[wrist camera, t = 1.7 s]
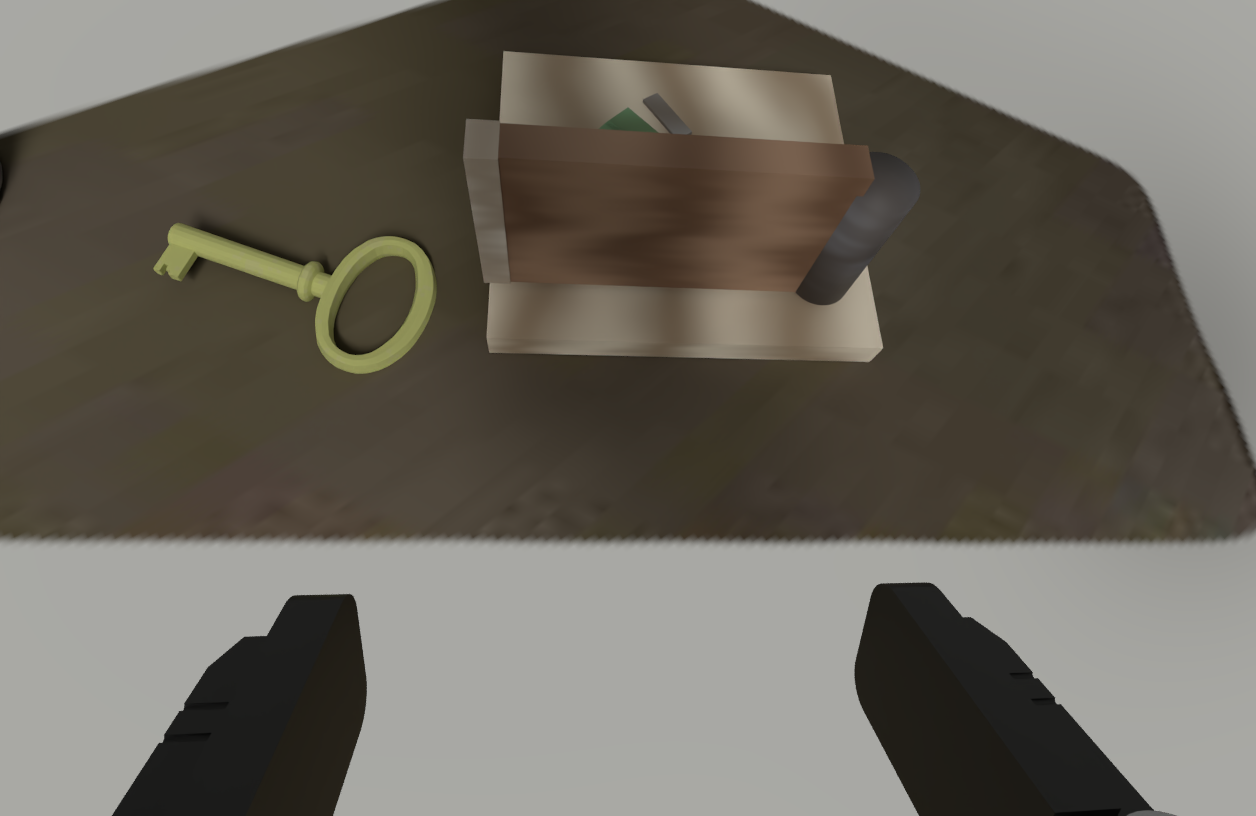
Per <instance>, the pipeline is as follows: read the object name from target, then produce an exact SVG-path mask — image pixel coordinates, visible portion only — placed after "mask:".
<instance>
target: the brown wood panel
mask: <svg viewBox="0 0 1256 816" xmlns="http://www.w3.org/2000/svg"><path fill="white" fill-rule="evenodd" d="M463 160H464V166H465V172H466V178H467V184H468V190H469V196H470V202H471V208H472V214H473V220H474V225H475V231H476V237H477V243H478V249H479V255H480V261H481V267H482V273H483V279H484V283H504V284H510V283H511V282H528V283H556V284H584V285H612V286H639V287H667V288H695V289H723V290H751V291H779V292H796V293H797V295H799V296H800V297H801V298H802V299H804V300H805V301H807V302H809V303H812V304H816V305H831V304H834V303H836V302H838V301H839V300H840V299H842V297H843V296H844V295H845V294H846V292H847V291H848V290H849V288H850V287H851V286H852V285H853V283H854V282H855V281H856V279H857V278H858V277H859V276H860V274H861V273H862V272H863V270H864V269H865V268H866V266H867V265H868V264H869V263H870V261H871V260H872V259H873V257H874V256H875V255H876V254H877V252H878V251H879V250H880V248H881V247H882V246H883V244H884V243H885V242H886V241H887V239H888V238H889V237H890V235H891V234H892V233H893V232H894V230H895V229H896V228H897V226H898V225H899V224H900V222H901V221H902V220H903V219H904V217H905V216H906V215H907V213H908V212H909V211H910V210H911V208H912V207H913V206H914V204H915V203H916V202H917V200H918V198H919V195H920V183H919V180H918V178H917V176H916V174H915V173H914V171H913V170H912V169H911V168H910V167H909V166H908V165H907V164H906V163H905V162H903V161H902V160H900V159H899V158H897V157H895V156H892V155H890V154H887V153H882V152H869V149H868V146H863V145H847V144H831V143H815V142H799V141H783V140H767V139H751V138H734V137H718V136H702V135H686V134H670V133H654V132H638V131H622V130H606V129H590V128H573V127H557V126H541V125H525V124H509V123H500V121H495V120H479V119H466V129H465V141H464V153H463Z"/></svg>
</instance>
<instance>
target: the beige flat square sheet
mask: <svg viewBox="0 0 1256 816" xmlns="http://www.w3.org/2000/svg"><path fill="white" fill-rule="evenodd" d="M500 123H509V124H525V125H541V126H557V127H573V128H590V129H606V130H622V131H638V132H654V133H670V134H686V135H702V136H718V137H734V138H751V139H767V140H783V141H799V142H815V143H831V144H844V142H843V137H842V132H841V127H840V121H839V116H838V111H837V106H836V100H835V95H834V90H833V85H832V80H831V75H818V74H805V73H791V72H778V71H764V70H751V69H737V68H724V67H710V66H697V65H683V64H670V63H656V62H643V61H629V60H616V59H602V58H589V57H575V56H562V55H548V54H535V53H521V52H508V51H504V53H503V70H502V87H501V104H500ZM487 343H488V348H489V353H524V354H565V355H607V356H648V357H690V358H731V359H773V360H814V361H856V362H870V361H871V360H872V359H873V358H874V357H875V356H876V355H877V354H878V353H879V352H880V351H881V350H882V349H883V345H882V340H881V335H880V330H879V325H878V319H877V314H876V309H875V304H874V298H873V293H872V288H871V283H870V278H869V272H868V267H867V266H866V268H865V269H864V270H863V272H862V273H861V274H860V276H859V277H858V278H857V279H856V281H855V282H854V283H853V285H852V286H851V287H850V288H849V290H848V291H847V292H846V294H845V295H844V296H843V297H842V299H840V300H839V301H838V302H836V303H834V304H831V305H816V304H812V303H809V302H807V301H805V300H804V299H802V298H801V297H800V296H799V295H797V293H796V292H779V291H751V290H723V289H695V288H667V287H639V286H612V285H584V284H556V283H528V282H511V283H510V284H504V283H490V289H489V306H488V323H487Z"/></svg>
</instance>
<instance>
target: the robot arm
mask: <svg viewBox="0 0 1256 816" xmlns="http://www.w3.org/2000/svg"><path fill="white" fill-rule="evenodd" d="M2 182H3V181H2V165H1V162H0V189H1V186H2ZM1032 673H1033V672H1032V671H1031V670H1030V669H1029V668H1028V667H1027V665H1026V664H1025V663H1024V662H1023V661H1022V660H1021V659H1020V657H1019V656H1018V655H1017V654H1016V653H1015V652H1014V650H1013V649H1012V648H1011V647H1010V646H1009V645H1008V644H1007V643H1006V642H1005V641H1004V640H1002V639H1001V638H1000V637H998V636H997V635H995V634H994V633H992V632H991V631H990V630H988V629H987V628H985V627H984V626H983V625H981V624H980V623H978V622H977V621H975V620H974V619H973V618H971V617H964V618H963V617H962V616H961V615H960V614H959V612H958V611H957V610H956V609H955V608H954V606H953V605H952V604H951V603H950V602H949V600H948V599H947V598H946V597H945V596H944V594H943V593H942V592H941V591H940V590H939V589H938V588H937V587H936V586H935V585H933V584H931V583H890V584H889V583H888V584H879V585H877V586H876V587H875V588H874V590H873V592H872V595H871V598H870V602H869V607H868V611H867V615H866V619H865V624H864V628H863V632H862V636H861V640H860V645H859V649H858V653H857V657H856V662H855V685H856V690H857V695H858V698H859V701H860V704H861V706H862V708H863V711H864V712H865V714H866V716H867V718H868V720H869V722H870V724H871V726H872V728H873V730H874V731H875V733H876V735H877V737H878V739H879V741H880V743H881V745H882V747H883V748H884V750H885V752H886V754H887V756H888V758H889V760H890V762H891V763H892V765H893V767H894V769H895V771H896V773H897V775H898V777H899V779H900V780H901V782H902V784H903V786H904V788H905V790H906V792H907V794H908V795H909V797H910V799H911V801H912V803H913V805H914V807H915V809H916V811H917V813H918V814H919V816H1176V815H1173V814H1169V813H1164V812H1160V811H1154V810H1153V809H1152V808H1151V807H1150V806H1149V804H1148V803H1147V802H1146V801H1145V800H1144V799H1143V798H1142V797H1141V795H1140V794H1139V793H1138V792H1137V791H1136V790H1135V789H1134V787H1133V786H1132V785H1131V784H1130V783H1129V782H1128V781H1127V779H1126V778H1125V777H1124V776H1123V775H1122V774H1121V773H1120V772H1119V770H1118V769H1117V768H1116V767H1115V766H1114V765H1113V763H1112V762H1111V761H1110V760H1109V759H1108V758H1107V757H1106V755H1105V754H1104V753H1103V752H1102V751H1101V750H1100V749H1099V748H1098V746H1097V745H1096V744H1095V743H1094V742H1093V741H1092V739H1091V738H1090V737H1089V736H1088V735H1087V734H1086V733H1085V731H1084V730H1083V729H1082V728H1081V727H1080V726H1079V725H1078V723H1077V722H1076V721H1075V720H1074V719H1073V718H1072V717H1071V716H1070V714H1069V713H1068V712H1067V711H1066V710H1065V709H1064V707H1063V706H1062V705H1061V704H1059V705H1058V704H1056V703H1055V697H1054V696H1053V695H1052V694H1051V693H1050V692H1049V690H1048V689H1047V688H1046V687H1045V686H1044V685H1043V684H1042V683H1041V681H1040V680H1039V679H1038V678H1036V679H1035V678H1034V677H1033V675H1032ZM366 696H367V681H366V672H365V664H364V657H363V650H362V643H361V635H360V627H359V620H358V612H357V606H356V602H355V599H354V597H353V596H352V595H351V594H339V595H297V596H292V597H290V598H289V599H288V601H287V602H286V603H285V605H284V607H283V609H282V610H281V612H280V614H279V616H278V617H277V619H276V621H275V623H274V625H273V626H272V628H271V630H270V631H269V633H268V635H267V636H255V637H244V638H242V639H241V640H240V641H239V642H238V643H236V644H235V645H234V646H233V647H232V648H231V649H229V650H228V651H227V652H226V653H225V654H223V655H222V656H221V657H220V658H219V659H217V660H216V661H215V662H214V663H213V664H211V665H210V666H209V667H208V668H207V669H206V671H205V673H204V674H203V676H202V677H201V679H200V680H199V682H198V684H197V685H196V686H195V688H194V690H193V691H192V693H191V694H190V696H189V697H188V699H187V700H186V702H185V703H184V704H185V706H184V710H183V711H179V713H178V715H177V716H176V717H175V719H174V721H173V722H172V724H171V725H170V727H169V728H168V730H167V731H166V733H165V734H164V741H163V743H159V744H158V745H157V747H156V748H155V750H154V752H153V753H152V755H151V756H150V758H149V759H148V761H147V762H146V764H145V766H144V767H143V768H142V770H141V772H140V773H139V775H138V776H137V778H136V779H135V781H134V782H133V784H132V786H131V787H130V789H129V790H128V792H127V793H126V795H125V796H124V798H123V799H122V801H121V803H120V804H119V806H118V807H117V809H116V810H115V812H114V813H113V815H112V816H333V814H334V811H335V807H336V804H337V801H338V798H339V795H340V792H341V789H342V786H343V783H344V780H345V777H346V774H347V770H348V768H349V765H350V761H351V758H352V755H353V752H354V749H355V746H356V743H357V740H358V737H359V734H360V731H361V727H362V723H363V719H364V714H365V707H366Z"/></svg>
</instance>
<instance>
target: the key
mask: <svg viewBox="0 0 1256 816" xmlns="http://www.w3.org/2000/svg"><path fill="white" fill-rule="evenodd" d="M168 242H169V246H168V248H167V249H166V251H165V252H164V253H163V255H162V256H161V258H160V259H159V261H158V262H157V264H156V265H155V267H154V268H153V269H154V270H155V271H156V273H158V274H161V275H164V274H165V272H166V271H167V272H168V274H169V275H170V276H171V278H172V279H175V280H178V281H182V280H183V278H184V277H185V275H186V274H187V272H188V271H189V269H190V268H191V266H192V265H193V263H194V261H195V260H196V258H197V257H198V256H199V257H202V258H205V259H208V260H211V261H214V262H217V263H220V264H223V265H225V266H228V267H231V268H234V269H237V270H240V271H243V272H246V273H249V274H252V275H255V276H258V277H260V278H263V279H266V280H269V281H272V282H275V283H278V284H281V285H284V286H287V287H290V288H293V289H295V290H297V293H298V296H299V298H300V299H301V300H303V301H307V302H308V301H311V300H312V299H313V298H314V297H315V296H316V297H319V298H321V299H320V301H319V304H318V307H317V312H316V318H315V328H316V337H317V345H318V347H319V349H320V351H321V353H322V354H323V355H324V357H325V358H326V359H327V360H328V361H329V362H330V363H332V364H333V365H334V366H336V367H337V368H339V369H342V370H344V371H347V372H351V373H355V374H362V373H370V372H374V371H378V370H381V369H383V368H385V367H387V366H389V365H391V364H392V363H394V362H395V361H397V360H398V359H400V358H401V357H402V356H403V355H404V354H405V353H407V352H408V351H409V350H410V349H411V347H412V346H413V345H414V344H415V343H416V341H417V340H418V338H419V337H420V335H421V334H422V332H423V330H424V328H425V327H426V325H427V323H428V321H429V318H430V316H431V313H432V311H433V307H434V304H435V300H436V293H437V283H436V277H435V272H434V269H433V266H432V264H431V262H430V260H429V259H428V257H427V256H426V255H425V253H424V252H423V250H422V249H421V248H420V247H418V246H417V245H416V244H415V243H413V242H411V241H409V240H406V239H403V238H400V237H394V236H384V237H378V238H374V239H371V240H368V241H367V242H365V243H363V244H362V245H360V246H358V247H357V248H355V249H354V250H353V251H352V252H351V253H349V254H348V255H347V256H346V257H345V258H344V259H343V261H342V262H341V263H340V265H339V266H338V267H337V268H336V270H335V271H334V273H333V274H332V275H329V274H326V273H324V268H323V266H322V265H321V264H320V263H319V262H315V261H311V262H309V263H308V264H307V265H305V266H303V265H300V264H297V263H294V262H292V261H289V260H286V259H283V258H280V257H277V256H274V255H271V254H268V253H266V252H263V251H260V250H257V249H254V248H251V247H248V246H245V245H242V244H240V243H237V242H234V241H231V240H228V239H225V238H222V237H219V236H217V235H214V234H211V233H208V232H205V231H202V230H199V229H196V228H193V227H191V226H188V225H185V224H182V223H176V224H174V225H173V226H172V227H171V229H170V231H169V234H168ZM386 256H400V257H404V258H406V259H408V260H409V261H410V262H411V263H412V265H413V266H414V269H415V277H416V291H415V295H414V300H413V304H412V307H411V309H410V311H409V314H408V316H407V318H406V320H405V322H404V323H403V325H402V326H401V328H400V329H399V330H398V332H397V333H396V334H395V336H394V337H393V338H391V339H390V340H389V341H388V342H387V343H385V344H384V345H382V346H381V347H380V348H378V349H376V350H375V351H373V352H371V353H367V354H364V355H351V354H347V353H345V352H343V351H341V350H340V349H339V348H338V347H337V346H336V344H335V341H334V323H335V318H336V315H337V312H338V309H339V306H340V304H341V302H342V300H343V298H344V296H345V294H346V292H347V291H348V289H349V287H350V286H351V285H352V283H353V282H354V280H355V279H356V278H357V276H358V275H359V274H360V273H361V272H362V271H363V270H364V269H365V268H366V267H368V266H369V265H370V264H372V263H373V262H375V261H376V260H377V259H380V258H382V257H386Z"/></svg>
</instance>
